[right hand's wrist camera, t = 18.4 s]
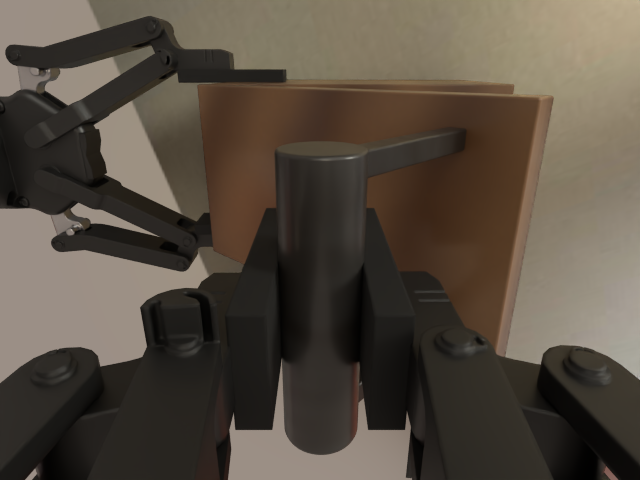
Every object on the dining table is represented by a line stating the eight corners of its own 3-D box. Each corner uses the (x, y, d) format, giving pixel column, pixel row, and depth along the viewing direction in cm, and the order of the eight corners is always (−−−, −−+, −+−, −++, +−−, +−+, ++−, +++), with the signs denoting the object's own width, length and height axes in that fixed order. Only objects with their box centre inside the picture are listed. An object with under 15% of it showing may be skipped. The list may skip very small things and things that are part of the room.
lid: (554, 95, 13) (389, 117, 7) (504, 359, 16) (365, 529, 10) (217, 84, 23) (35, 88, 17) (230, 245, 27) (82, 295, 21)
